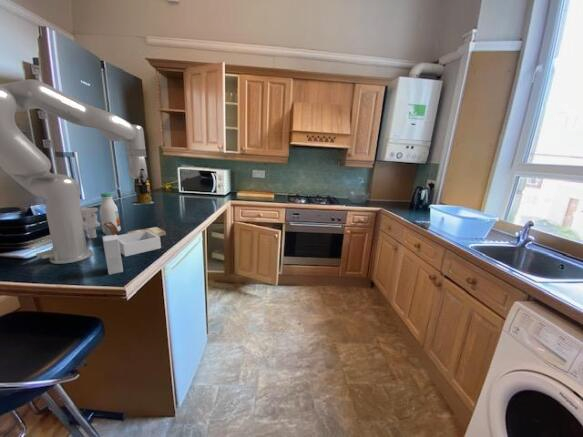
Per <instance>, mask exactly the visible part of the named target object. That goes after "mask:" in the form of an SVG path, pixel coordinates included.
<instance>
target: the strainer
mask: <svg viewBox="0 0 583 437" xmlns="http://www.w3.org/2000/svg"><path fill="white" fill-rule="evenodd" d="M80 210H81V216H82V222H83V228H84V229H87V235H88V239H95V238H97V237H98V236H97V231H96V228H97V227H100V226H101V222H99V221H98V216H97V213H95V212H98V211H99V208H98V207H86V206H80Z"/></svg>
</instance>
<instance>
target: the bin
mask: <svg viewBox="0 0 583 437" xmlns="http://www.w3.org/2000/svg"><path fill="white" fill-rule="evenodd" d="M117 236H118V240H119V247H120V253H121V255H123V256H124V257H129V256H134V255H138V254H141V253H146V252H150V251H155V250H160V249H162V243H161V236H157V235H155V234H153V233H151V232H150V231H148V230H146V231H140V232H134V233H129V234H127V233H124V234H123V233H122V234H119V235H117Z"/></svg>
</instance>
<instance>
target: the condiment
mask: <svg viewBox="0 0 583 437" xmlns="http://www.w3.org/2000/svg"><path fill="white" fill-rule="evenodd" d="M146 182H147V190H148V193H145V194H140V190H139V185H140V184H139V180H138V179H136V184H135V187H134V189H135V188H136V192H135V193H136V194H135V195H136V201H131V202H130V203H131V204H132V205H134V206H135V205H147V204H154V203H155V202H154V201H152V191H151V185H150V183H149V182H150V181H149V178H148V177H147V179H146Z"/></svg>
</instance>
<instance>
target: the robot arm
mask: <svg viewBox="0 0 583 437" xmlns="http://www.w3.org/2000/svg"><path fill="white" fill-rule="evenodd" d="M35 109H39V110H42V111H43V112H45V113H47V114H50V115H53V116H55V117H57V118H59V119H62V120H64V121H67V122H69V123H71V124H74V125H76V126H80V127H84V128H85V127H87V128H93V129H98V130H100V132H101V134H102V136H103V137H104V138H105V139H107V140H109V141H111V142H125V149H126V156H127V158H128V169H129V177H130V178H131V179H133V184H134V185H133V186H134V192H135V193H136V188H135V184H136V179H138V180H139V184H140V185H139V190H140V194H145V193H148V190H147V182H146V179H147V178H148V168H147V162H146V158H147V151H146V143H145V142H146V141H145V131H144V128H143V127H142V126H141V125H139V124H132V123H130V122H129V121H127V120H125V119H124V118H122V117H121V116H119V115H116V114H114V113H112V112H109V111H106V110H104V109H101V108H98V107H95V106H93V105H90V104H87V103H85V102H83V101H80V100H78V99H76V98H74V97H73V96H70V95H69V94H67V93H65V92H63V91H61V90H58V89H57V88H55V87H53V86H51V85H49V84H47V83H45V82H43V81H41V80H38V79H33V78H32V79H30V78H29V79H23V80H17V81H13V82H7V83H0V167H1V169H2V170H3V172H5V174H7V175H8V176H10V177H11V178H12V179H13V180H14V181H16V182H17V183H18V184H19V185H20V186H21V187H23V189H25V190H26V191H27V192H30V193H31V194H32V195H34V196H35V197H38V198H40V199H45V200H46V201H45V214H46V215H45V216H46V220H47V224H48V225H47V226H48V229H49V234H50V239H51V244H52V247H50V248H51V249H49V250H48V251H45V252H38V253H36V259H43V260H44V259H48V258H49V262H50V263H52V264H54V265H55V264H56V265H61V264H69V263H77V262H79V261H84V260H86V259H89V258H91V257H92V256H93V254H94V252H93V250H92V249H89V248H88V246H87V241H86V240H87V239H86V234H85V228H83V222H82V216H83V215H81V210H80V207H81V203H80V202H81V200H80V199H81V190H80V189H81V188H80V186H79V183H78V182H77V181H76V180H75V179H74V178H72V177H71V176H69V175H67V174H66V175H65V174H60V173H52V172H50V170H51V169H52V163H51V160H50V159H49V157H47V155H46V154H45V153H43V151H42V150H40V149H39V148H38V147H37V146H36V145H35V144H34V143H33V142H32V141H31V140H30V139H29V138H28V137H27V136H26V135H25V134H24V133H23V132H22V131H21V129H20V128H19V127H18V125H17V124H16V121H15V114H17V113H21V112H24V111H29V110H35Z"/></svg>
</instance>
